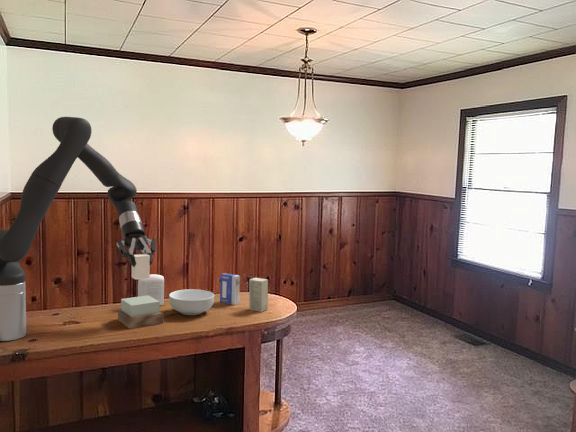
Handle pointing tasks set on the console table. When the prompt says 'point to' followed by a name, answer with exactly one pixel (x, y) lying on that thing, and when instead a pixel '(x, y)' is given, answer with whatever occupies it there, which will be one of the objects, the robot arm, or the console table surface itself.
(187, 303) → the cereal bowl
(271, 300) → the console table surface
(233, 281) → the walkman
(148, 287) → the photo printer
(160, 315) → the tower base
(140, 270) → the cream block
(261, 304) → the skincare box
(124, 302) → the tower top
